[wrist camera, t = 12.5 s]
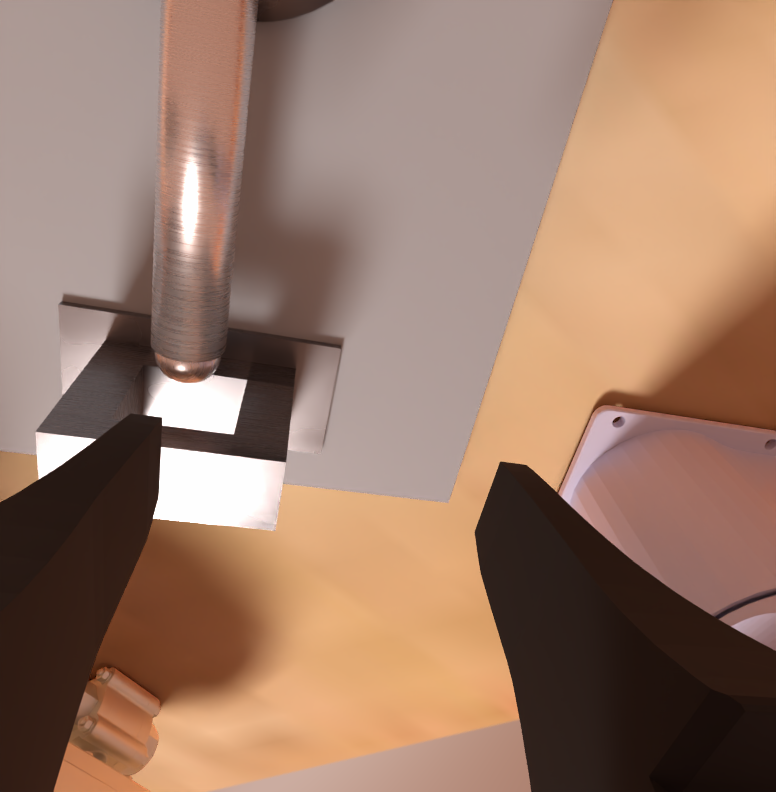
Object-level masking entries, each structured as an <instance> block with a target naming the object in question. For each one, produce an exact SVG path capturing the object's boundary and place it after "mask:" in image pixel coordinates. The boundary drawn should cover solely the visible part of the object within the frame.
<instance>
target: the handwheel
mask: <svg viewBox="0 0 776 792" xmlns="http://www.w3.org/2000/svg"><path fill="white" fill-rule="evenodd" d="M333 1H335V0H258V10H257V21H256V22H278V21H284V20H290V19H295V18H298V17H301V16H304V15H307V14H310V13H313V12H315V11H317V10H319V9H321V8H322V7H324V6H326V5H328V4H330V3H332V2H333Z"/></svg>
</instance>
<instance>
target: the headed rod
mask: <svg viewBox="0 0 776 792" xmlns="http://www.w3.org/2000/svg"><path fill="white" fill-rule="evenodd" d="M257 10H258V0H161V13H160V47H159V80H158V114H157V147H156V181H155V214H154V248H153V282H152V315H151V347H152V349H153V350H154V355H155V360H156V363H157V365H158V367H159V368H160V370H161V371H162V372H163V374H164V375H166V376H167V377H168V378H169V379H171V380H173V381H175V382H178V383H182V384H195V383H199V382H202V381H204V380H206V379H207V378H209V377H210V376H211V375H212V374H213V373H214V372H215V371H216V369H217V368H218V366H219V364H220V360H221V356H222V355H223V354H224V353H225V350H226V340H227V329H228V319H229V308H230V297H231V287H232V276H233V265H234V255H235V244H236V234H237V223H238V212H239V202H240V191H241V180H242V170H243V159H244V148H245V138H246V127H247V117H248V106H249V95H250V85H251V74H252V63H253V53H254V42H255V32H256V21H257Z"/></svg>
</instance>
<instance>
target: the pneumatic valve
mask: <svg viewBox="0 0 776 792" xmlns="http://www.w3.org/2000/svg"><path fill="white" fill-rule="evenodd" d="M160 710H161V707H160V700H159V699H157V698H156V697H155V696H153V695H152V694H151V693H149V692H148V691H146V690H145V689H144V688H142V687H141V686H139V685H138V684H137V683H135V682H134V681H132V680H131V679H130V678H128V677H127V676H125V675H124V674H123V673H121V672H120V671H118V670H117V669H116V668H114V667H111V668H109V669H108V668H106V667H104V668H102V669H99V670H98V671H97V673H96V679H93V680H91V681H89V680H88V682H87V685H86V688H85V692H84V695H83V698H82V701H81V704H80V707H79V710H78V713H77V716H76V720H75V723H74V726H73V729H72V732H71V736H70V739H69V742H68V745H67V748H66V752H65V755H64V758H63V761H62V765H61V768H60V771H59V775H58V778H57V782H56V785H55V788H54V792H151V791H149V790H148V789H146V788H144V787H143V786H141V785H140V784H138V783H136V782H135V781H133V780H132V777H131V776H129V775H133V774H135V773H137V772H139V771H140V770H141V769H143V768H144V767H145V766H146V764H147V763H148V762H149V761H150V759H151V758H152V756H153V754H154V753H155V750H156V748H157V745H158V740H159V736H158V732H157V730H156V728H155V726H154V725H153V724H152V721H153V718H154V717H156V716H157V715H158V714H159V712H160Z"/></svg>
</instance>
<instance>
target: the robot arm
mask: <svg viewBox="0 0 776 792" xmlns="http://www.w3.org/2000/svg"><path fill="white" fill-rule="evenodd" d="M620 416H621V418H620V419H619V421H617V422H613V420H614V419H615V418H617V417H620ZM162 418H163V417H155V416H147V415H140V414H132V413H131V414H129V415H128V416H126V417H125V418H123V419H122V420H121V421H119V422H118V423H117V424H115V425H114V426H113V427H112V428H110V429H109V430H108V431H106V432H105V433H104V434H103V435H101V436H100V437H99V438H97V439H96V440H95V441H93V442H92V443H91V444H89V445H88V446H87V447H85V448H84V449H83V450H81V451H80V452H78V453H77V454H76V455H74V456H73V457H71V458H70V459H69V460H67V461H66V462H64V463H63V464H62V465H60V466H59V467H57V468H56V469H54V470H53V471H51V472H50V473H48V474H47V475H45V476H44V477H42V478H40V479H39V480H37V481H36V482H34V483H33V484H31V485H29V486H28V487H26V488H25V489H23V490H22V491H20V492H18V493H16V494H15V495H13V496H11V497H9V498H8V499H6V500H4V501H2V502H0V792H54V788H55V785H56V782H57V778H58V775H59V771H60V768H61V765H62V761H63V758H64V755H65V752H66V748H67V745H68V742H69V739H70V736H71V732H72V729H73V726H74V723H75V720H76V716H77V713H78V710H79V707H80V704H81V701H82V698H83V695H84V692H85V688H86V685H87V682H88V679H89V676H90V673H91V670H92V667H93V664H94V661H95V658H96V655H97V653H98V650H99V648H100V645H101V643H102V640H103V638H104V635H105V633H106V631H107V628H108V626H109V624H110V622H111V619H112V617H113V615H114V613H115V610H116V608H117V606H118V604H119V601H120V599H121V597H122V595H123V592H124V590H125V588H126V586H127V583H128V581H129V579H130V577H131V575H132V572H133V570H134V568H135V565H136V563H137V561H138V559H139V556H140V554H141V552H142V549H143V547H144V545H145V542H146V540H147V537H148V534H149V530H150V527H151V524H152V520H153V517H154V513H155V510H156V506H157V503H158V499H159V487H160V464H161V441H162ZM769 440H770V441H769ZM767 441H769V442H768V443H766V442H767ZM475 537H476V545H477V552H478V559H479V565H480V571H481V575H482V579H483V582H484V586H485V589H486V593H487V596H488V599H489V603H490V606H491V610H492V613H493V616H494V619H495V623H496V626H497V629H498V633H499V636H500V639H501V643H502V646H503V649H504V653H505V656H506V659H507V662H508V666H509V670H510V674H511V678H512V682H513V686H514V692H515V697H516V702H517V707H518V713H519V718H520V723H521V729H522V735H523V740H524V747H525V753H526V759H527V765H528V771H529V778H530V785H531V792H776V431H774V430H768V429H761V428H755V427H748V426H742V425H735V424H728V423H722V422H715V421H709V420H702V419H696V418H689V417H682V416H676V415H669V414H663V413H656V412H650V411H643V410H637V409H630V408H623V407H617V406H610V405H604V406H601V407H599V408H597V409H596V410H595V411H594V413H593V414H592V416H591V419H590V421H589V423H588V426H587V428H586V430H585V433H584V435H583V437H582V440H581V442H580V444H579V447H578V449H577V451H576V453H575V456H574V458H573V460H572V463H571V465H570V467H569V470H568V472H567V474H566V477H565V479H564V481H563V484H562V486H561V488H560V491H559V493H557V492H556V491H555V490H554V489H553V488H551V487H550V486H549V485H548V484H547V483H546V482H545V481H544V480H543V479H542V478H541V477H540V476H539V475H538V474H536V473H535V472H534V471H533V470H532V469H531V468H529V467H528V466H527V465H522V464H515V463H507V462H500V464H499V467H498V469H497V472H496V475H495V478H494V480H493V483H492V486H491V489H490V491H489V494H488V497H487V500H486V502H485V505H484V508H483V511H482V513H481V516H480V519H479V522H478V524H477V527H476V530H475Z"/></svg>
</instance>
